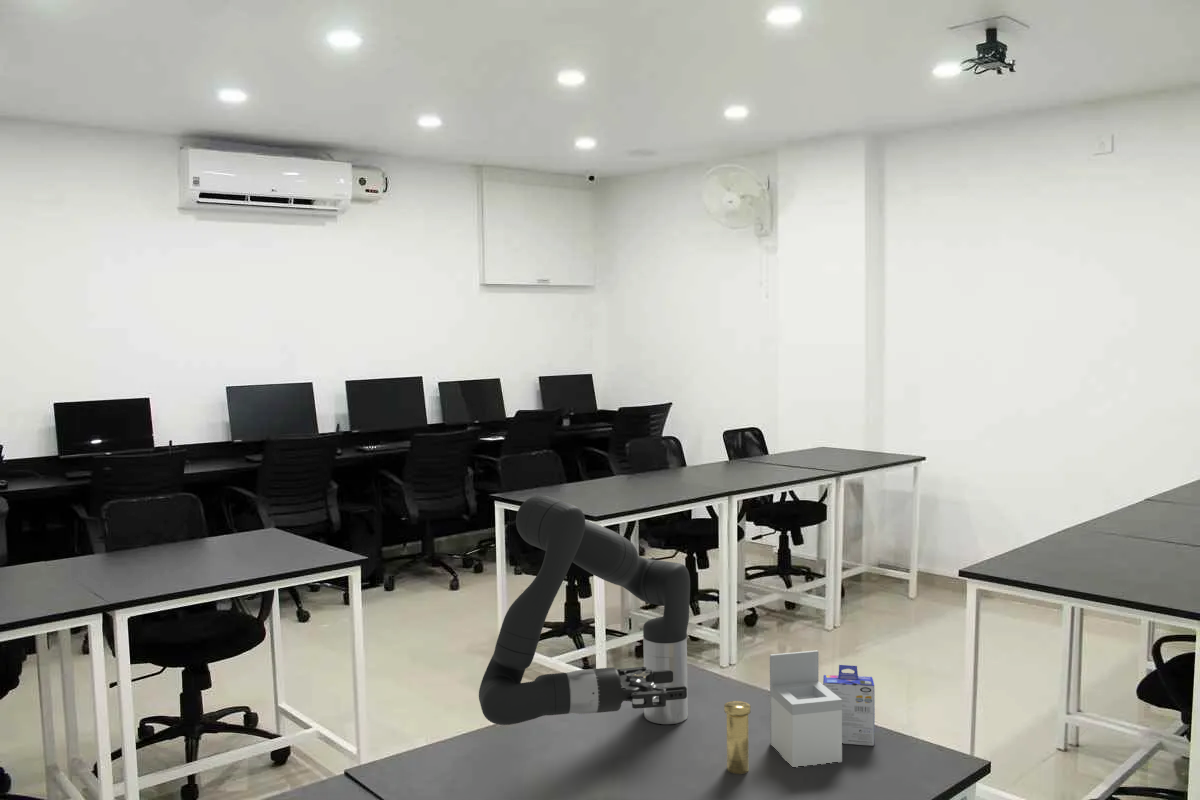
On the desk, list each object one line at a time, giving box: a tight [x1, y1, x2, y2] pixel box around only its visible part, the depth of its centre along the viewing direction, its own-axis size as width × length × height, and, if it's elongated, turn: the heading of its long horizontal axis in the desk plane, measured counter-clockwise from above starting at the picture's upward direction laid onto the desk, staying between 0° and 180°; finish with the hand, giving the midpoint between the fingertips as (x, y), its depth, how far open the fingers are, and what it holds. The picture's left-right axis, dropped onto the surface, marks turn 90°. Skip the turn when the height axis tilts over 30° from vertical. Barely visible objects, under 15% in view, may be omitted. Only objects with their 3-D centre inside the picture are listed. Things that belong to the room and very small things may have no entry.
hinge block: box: [769, 649, 843, 768], centre depth 178 cm, size 11×10×18 cm
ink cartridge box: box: [822, 664, 876, 747], centre depth 184 cm, size 10×6×14 cm, turn 78°
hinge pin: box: [723, 700, 752, 775], centre depth 172 cm, size 5×5×12 cm
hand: (679, 683), depth 169 cm, fingers open, 8 cm apart
